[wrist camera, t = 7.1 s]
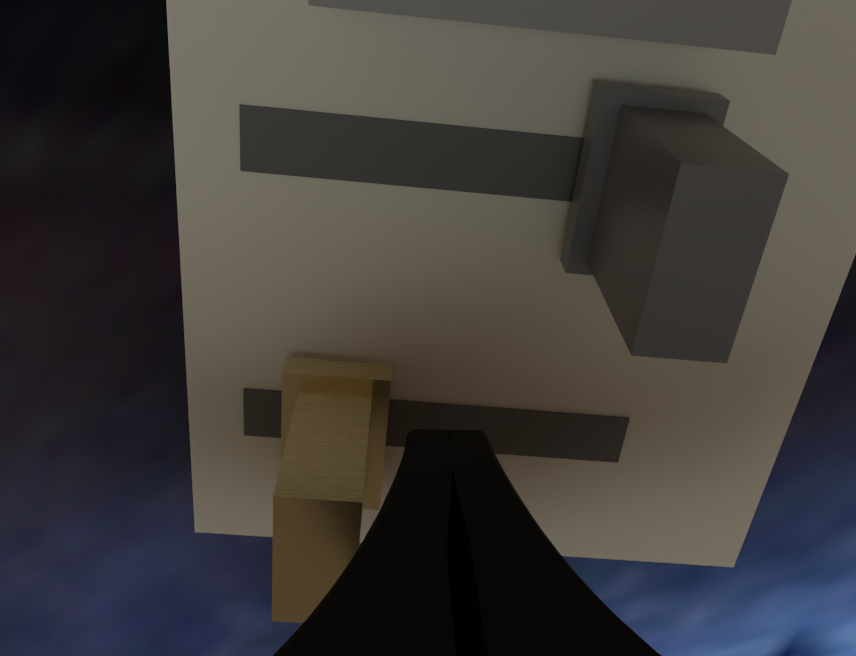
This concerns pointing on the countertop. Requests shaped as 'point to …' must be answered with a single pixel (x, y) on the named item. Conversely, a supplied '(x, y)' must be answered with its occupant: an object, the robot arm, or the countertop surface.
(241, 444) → the panel
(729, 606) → the countertop surface
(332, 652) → the robot arm
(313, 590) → the yellow slider knob
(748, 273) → the grey slider knob
